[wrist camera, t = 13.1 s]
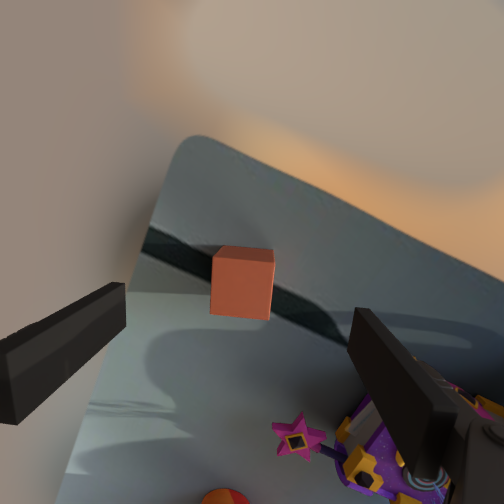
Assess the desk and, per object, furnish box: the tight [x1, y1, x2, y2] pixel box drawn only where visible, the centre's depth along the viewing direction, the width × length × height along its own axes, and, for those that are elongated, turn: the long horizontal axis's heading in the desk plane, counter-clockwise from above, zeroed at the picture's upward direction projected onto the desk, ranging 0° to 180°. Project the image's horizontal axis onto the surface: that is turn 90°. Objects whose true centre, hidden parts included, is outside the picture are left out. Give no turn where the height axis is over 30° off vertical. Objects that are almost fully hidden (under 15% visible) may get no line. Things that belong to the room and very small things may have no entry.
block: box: [210, 245, 275, 320], centre depth 21 cm, size 5×5×5 cm
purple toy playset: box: [272, 356, 504, 504], centre depth 19 cm, size 14×25×12 cm, turn 65°
